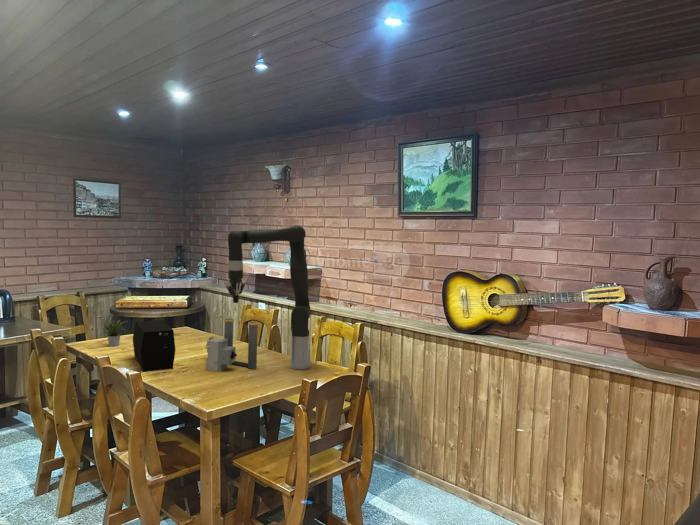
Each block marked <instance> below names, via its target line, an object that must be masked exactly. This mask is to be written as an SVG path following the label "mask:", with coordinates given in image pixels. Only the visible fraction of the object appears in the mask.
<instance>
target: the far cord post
mask: <svg viewBox="0 0 700 525" xmlns="http://www.w3.org/2000/svg"><path fill="white" fill-rule="evenodd" d="M223 322H224V338H223V339H228V346H231V347H234V346H233V345H234V344H233V343H234V322H235V318H233V317H231V318H224V319H223ZM230 365H233V364H232V363H231V364H230Z"/></svg>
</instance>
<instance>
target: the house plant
mask: <svg viewBox="0 0 700 525" xmlns="http://www.w3.org/2000/svg"><path fill="white" fill-rule="evenodd" d="M112 320H113V321H111V320H109V322H110V324H111V326H110V324H108V323H107V322H103V323H105V324H104V325H103V326H104V328H105V329H104V331H107V332H106V333H109V334H107V341H108V347H109V348H110V347H113V348H114V347H118V346H119V345H120V339H121V334H119V333H121V332H122V331H124V328H121V329H120V327H121V326H122V325H123V324H124V323H127V320H126V321H124V322H123V321H121V319H119V320H117V321H116V324H115V320H114V319H112Z"/></svg>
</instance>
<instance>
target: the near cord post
mask: <svg viewBox="0 0 700 525" xmlns="http://www.w3.org/2000/svg"><path fill="white" fill-rule="evenodd" d="M247 325H248V349H247V350H248V351H247V353H248V354H247V363H248V367H247V369H249V370H255V369H257V361H258V360H257V357H258V356H257V354H258V326H259V321H248V322H247Z"/></svg>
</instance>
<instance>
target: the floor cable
mask: <svg viewBox="0 0 700 525" xmlns="http://www.w3.org/2000/svg"><path fill="white" fill-rule="evenodd" d="M231 365H234V366H239V367H247V368H248V362H243V361H237V360H235V362H233V363H232V364H231Z"/></svg>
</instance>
